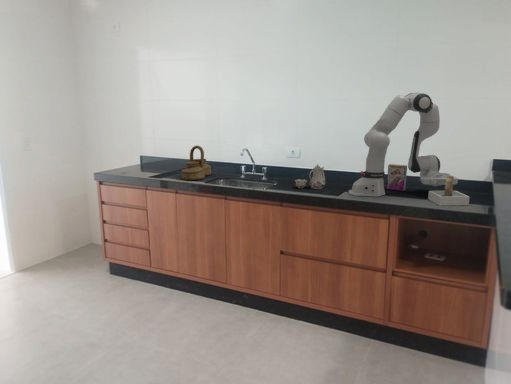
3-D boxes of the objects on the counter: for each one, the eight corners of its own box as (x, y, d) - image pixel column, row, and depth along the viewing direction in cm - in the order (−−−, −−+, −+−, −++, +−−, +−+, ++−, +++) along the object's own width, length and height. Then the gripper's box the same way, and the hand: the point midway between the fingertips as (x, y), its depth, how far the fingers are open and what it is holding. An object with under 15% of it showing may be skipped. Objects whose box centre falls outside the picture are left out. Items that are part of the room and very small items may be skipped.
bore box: (439, 205, 230) (440, 196, 229) (428, 199, 245) (428, 190, 244) (468, 205, 230) (469, 196, 229) (455, 198, 245) (456, 190, 244)
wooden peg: (445, 201, 235) (448, 176, 233) (442, 199, 239) (444, 175, 236) (452, 201, 235) (455, 176, 232) (449, 199, 239) (451, 175, 236)
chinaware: (317, 185, 298) (316, 162, 296) (336, 185, 286) (335, 161, 284) (291, 190, 280) (290, 166, 277) (311, 191, 267) (309, 166, 265)
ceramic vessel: (192, 173, 342) (191, 143, 337) (213, 174, 339) (212, 143, 334) (177, 181, 309) (176, 147, 304) (201, 181, 306) (200, 147, 301)
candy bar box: (386, 189, 274) (387, 164, 271) (388, 188, 278) (390, 163, 275) (403, 191, 268) (405, 166, 264) (405, 190, 272) (407, 165, 268)
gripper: (418, 173, 254) (427, 177, 241) (451, 173, 254) (462, 177, 240) (417, 184, 255) (426, 188, 242) (450, 183, 255) (461, 188, 242)
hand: (444, 183), depth 241 cm, fingers open, 8 cm apart
